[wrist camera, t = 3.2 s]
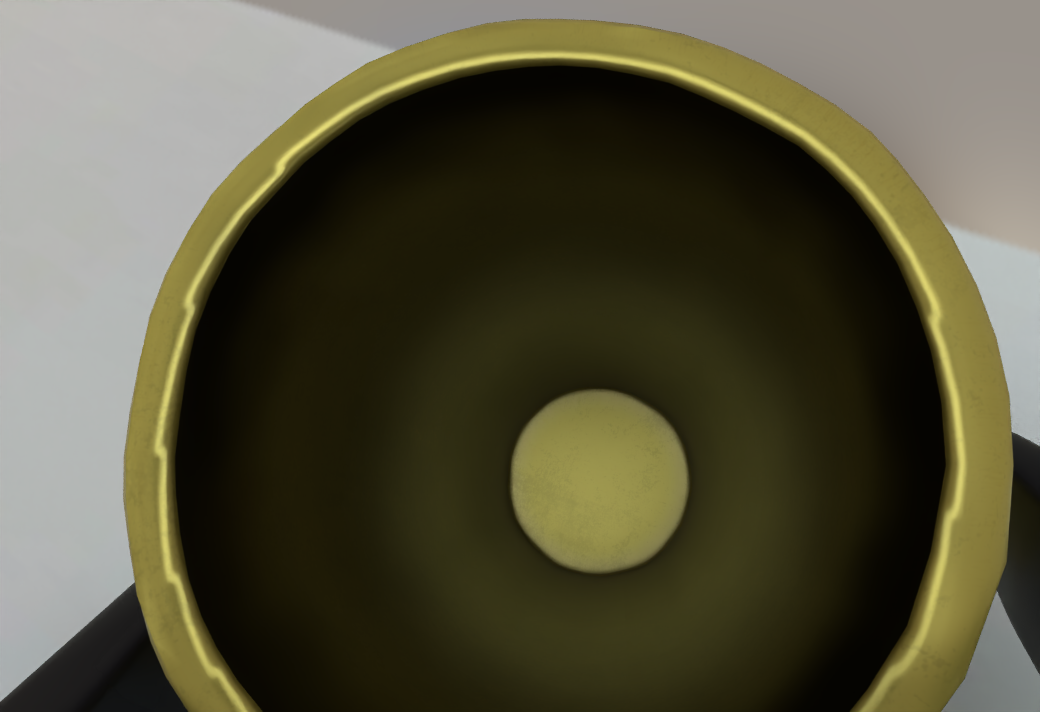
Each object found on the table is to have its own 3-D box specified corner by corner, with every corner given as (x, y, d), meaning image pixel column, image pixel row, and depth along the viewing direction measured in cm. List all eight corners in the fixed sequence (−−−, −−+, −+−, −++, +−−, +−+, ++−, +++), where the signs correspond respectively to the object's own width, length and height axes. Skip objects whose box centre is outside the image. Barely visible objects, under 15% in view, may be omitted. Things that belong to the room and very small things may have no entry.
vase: (507, 636, 18) (95, 1136, 4) (453, 390, 19) (3, 96, 5) (760, 578, 17) (1351, 909, 3) (687, 330, 18) (889, -179, 5)
